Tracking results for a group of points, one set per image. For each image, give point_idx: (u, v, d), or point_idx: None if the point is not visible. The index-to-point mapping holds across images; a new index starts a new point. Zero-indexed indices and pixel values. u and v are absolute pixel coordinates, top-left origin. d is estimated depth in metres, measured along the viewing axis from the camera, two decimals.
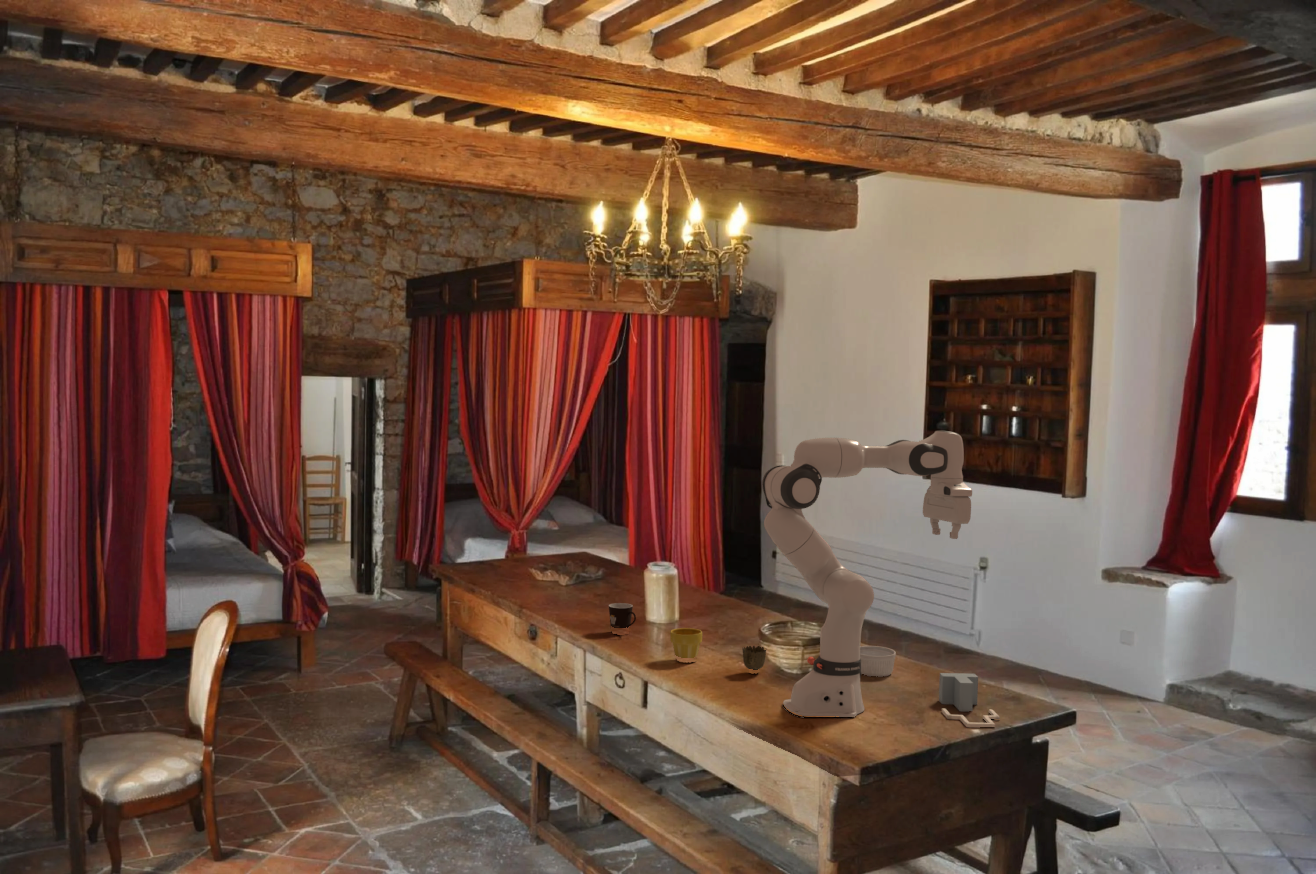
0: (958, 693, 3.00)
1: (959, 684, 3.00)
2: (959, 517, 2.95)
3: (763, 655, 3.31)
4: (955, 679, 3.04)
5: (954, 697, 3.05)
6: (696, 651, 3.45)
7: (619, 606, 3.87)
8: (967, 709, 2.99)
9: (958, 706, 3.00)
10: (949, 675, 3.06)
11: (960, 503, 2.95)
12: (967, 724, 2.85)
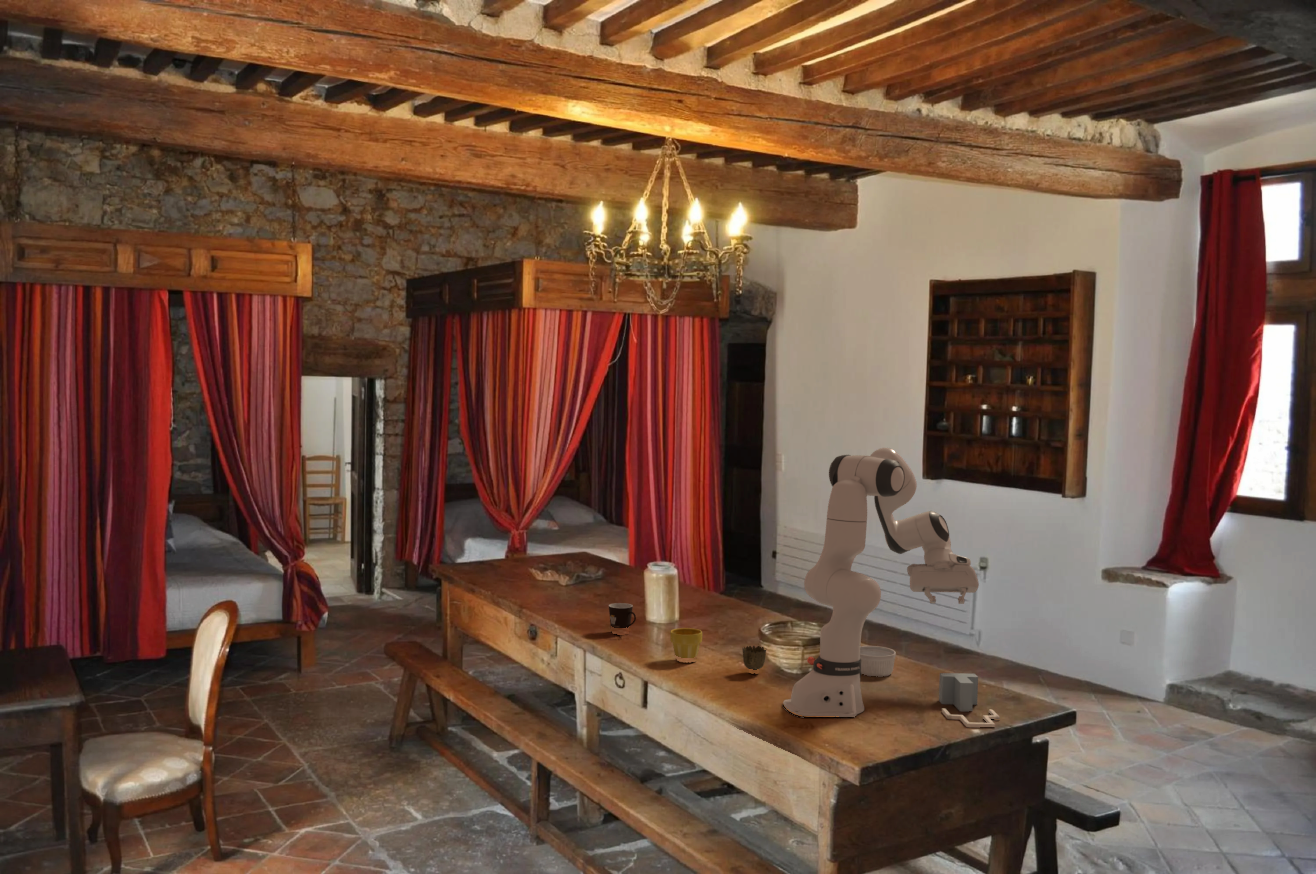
0: (958, 693, 3.00)
1: (959, 684, 3.00)
2: None
3: (763, 655, 3.31)
4: (955, 679, 3.04)
5: (954, 697, 3.05)
6: (696, 651, 3.45)
7: (619, 606, 3.87)
8: (967, 709, 2.99)
9: (958, 706, 3.00)
10: (949, 675, 3.06)
11: None
12: (967, 724, 2.85)
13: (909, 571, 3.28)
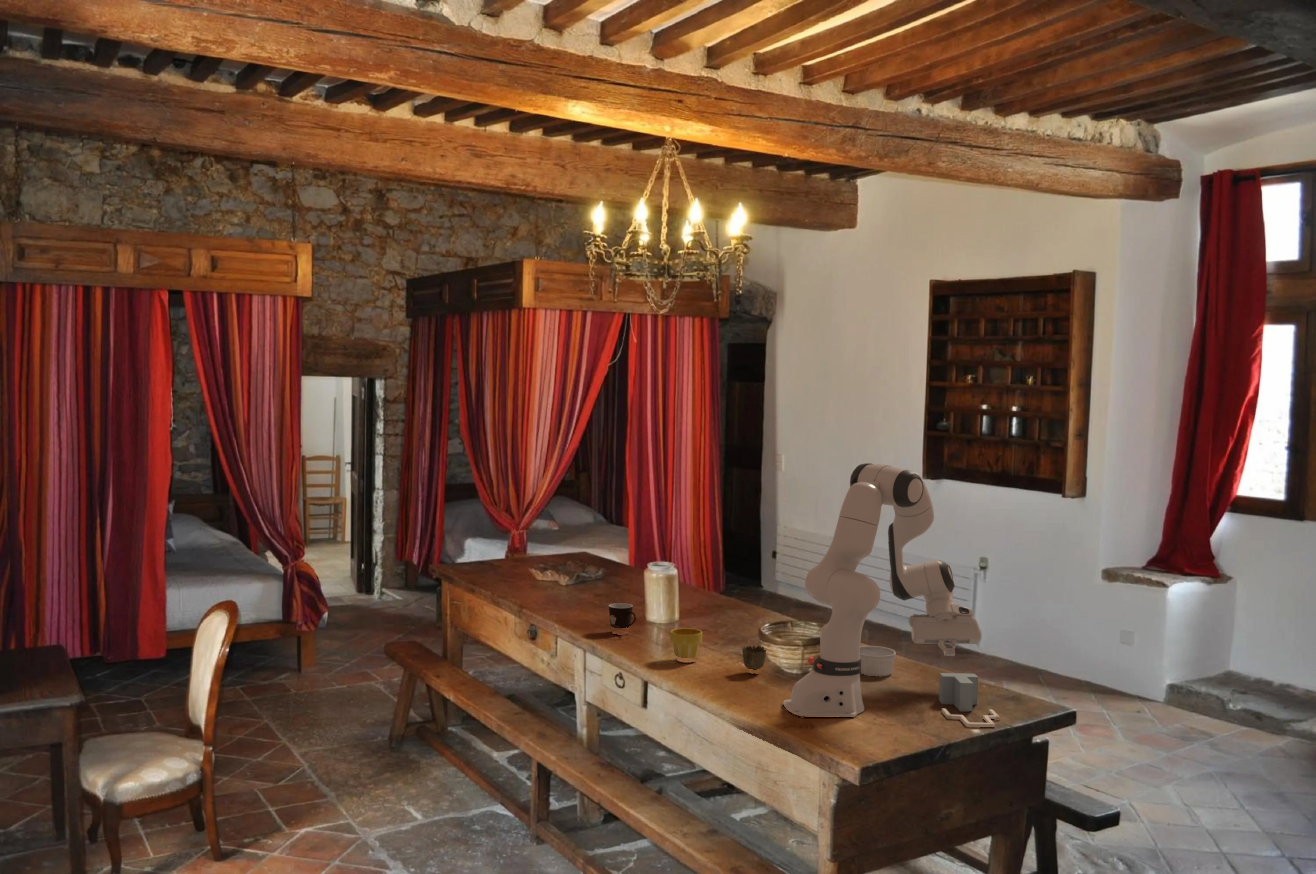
0: (958, 693, 3.00)
1: (959, 684, 3.00)
2: (980, 633, 3.20)
3: (763, 655, 3.31)
4: (955, 679, 3.04)
5: (954, 697, 3.05)
6: (696, 651, 3.45)
7: (619, 606, 3.87)
8: (967, 709, 2.99)
9: (958, 706, 3.00)
10: (949, 675, 3.06)
11: None
12: (967, 724, 2.85)
13: (911, 622, 3.24)
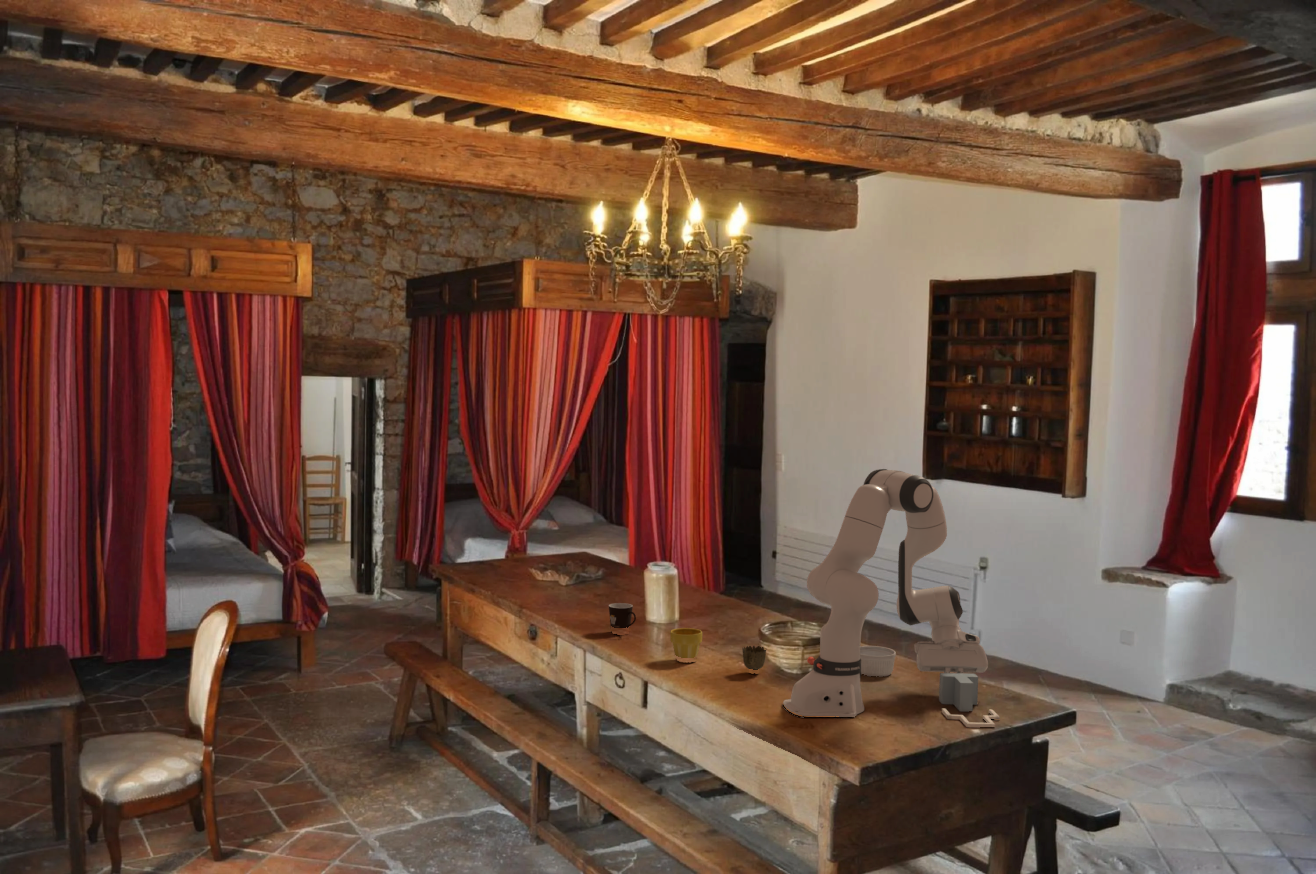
0: (958, 693, 3.00)
1: (959, 684, 3.00)
2: (987, 661, 3.12)
3: (763, 655, 3.31)
4: (955, 679, 3.04)
5: (954, 697, 3.04)
6: (696, 651, 3.45)
7: (619, 606, 3.87)
8: (967, 709, 2.99)
9: (958, 706, 3.00)
10: (949, 675, 3.06)
11: None
12: (967, 724, 2.85)
13: (916, 649, 3.16)
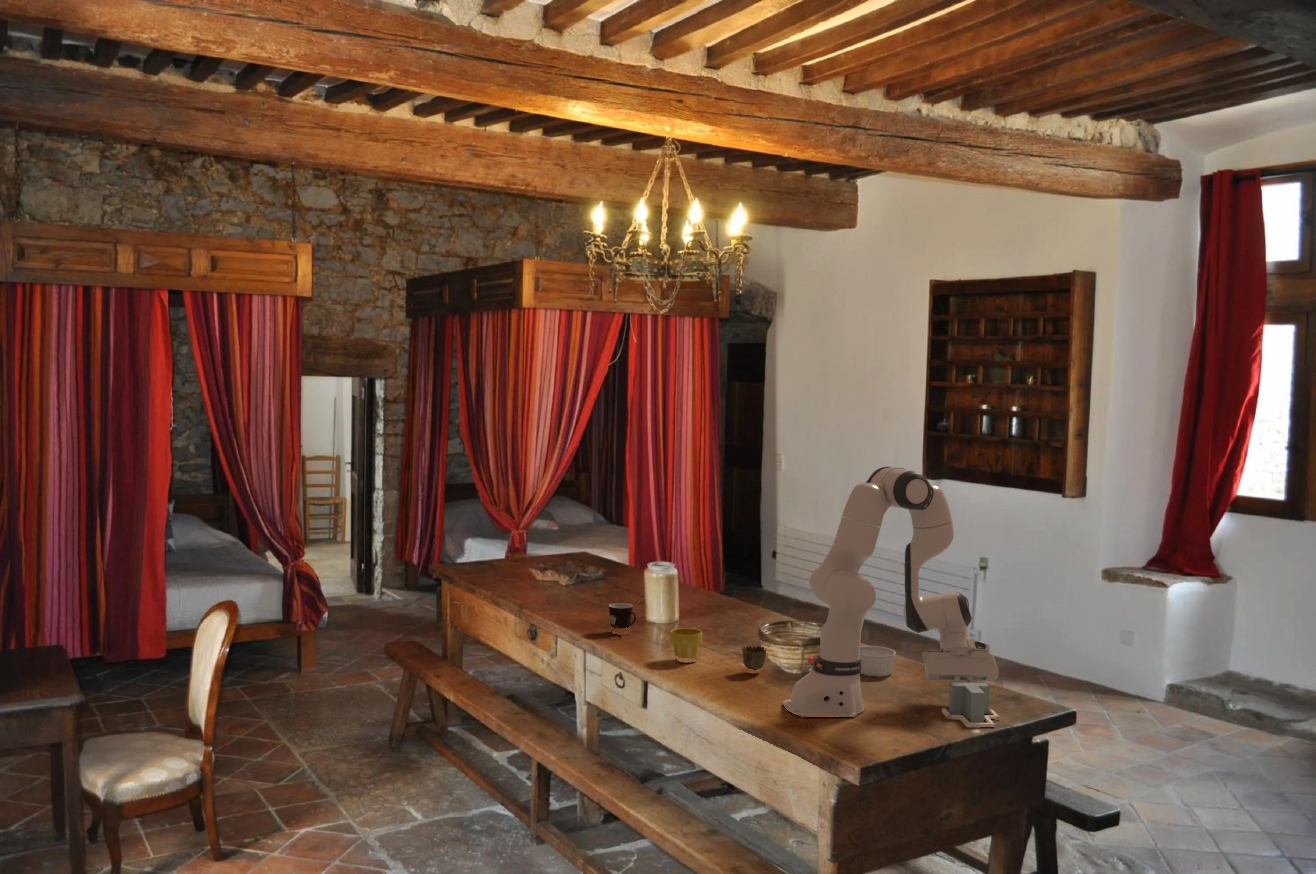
0: (969, 703, 2.91)
1: (970, 694, 2.90)
2: None
3: (763, 655, 3.31)
4: (966, 689, 2.94)
5: (965, 707, 2.95)
6: (696, 651, 3.45)
7: (619, 606, 3.87)
8: (978, 720, 2.90)
9: (969, 717, 2.91)
10: (959, 684, 2.97)
11: None
12: (967, 724, 2.85)
13: (924, 657, 3.07)
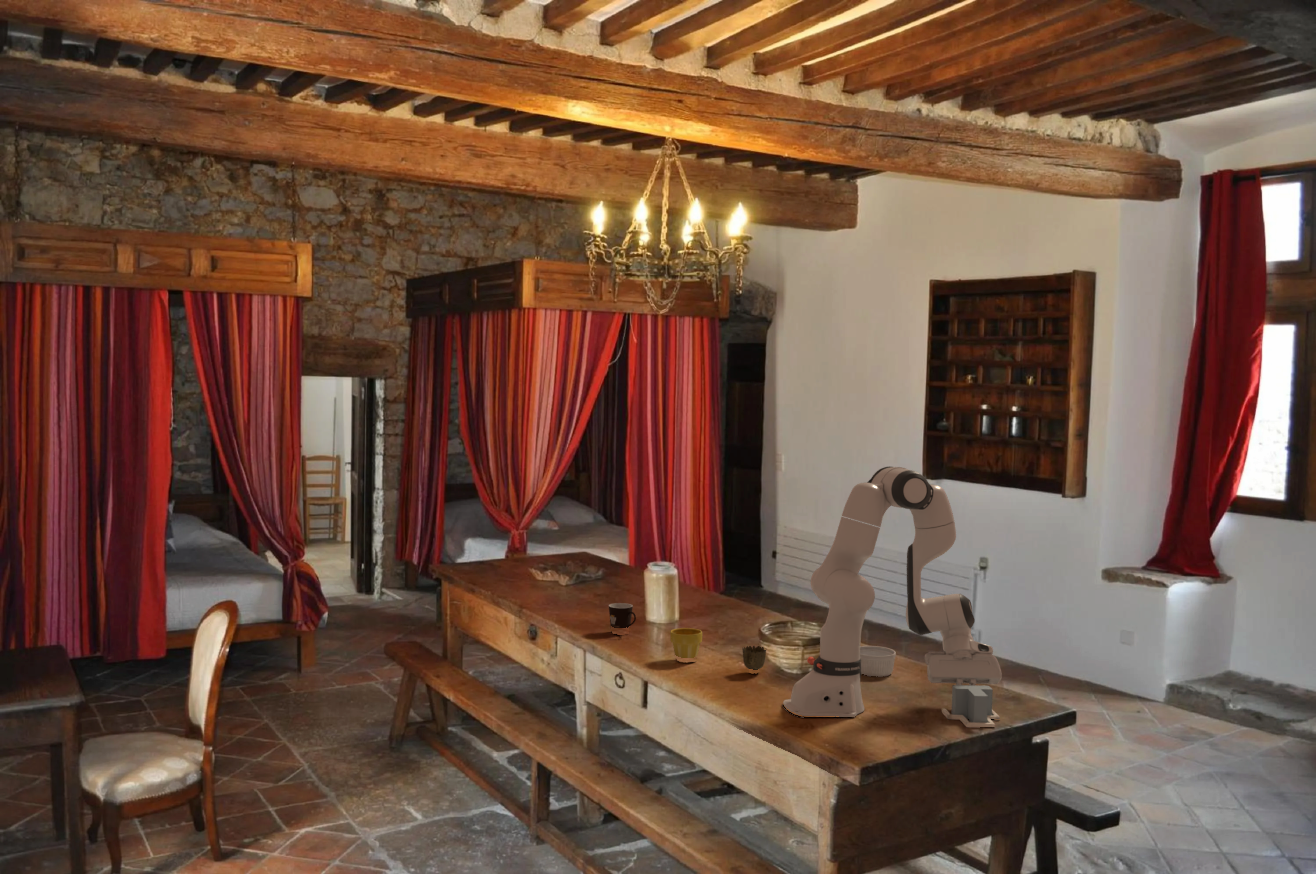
0: (972, 706, 2.88)
1: (973, 697, 2.87)
2: (1001, 672, 3.00)
3: (763, 655, 3.31)
4: (969, 692, 2.92)
5: (968, 710, 2.92)
6: (696, 651, 3.45)
7: (619, 606, 3.87)
8: None
9: (972, 720, 2.88)
10: (962, 687, 2.94)
11: None
12: (967, 724, 2.85)
13: (927, 660, 3.04)
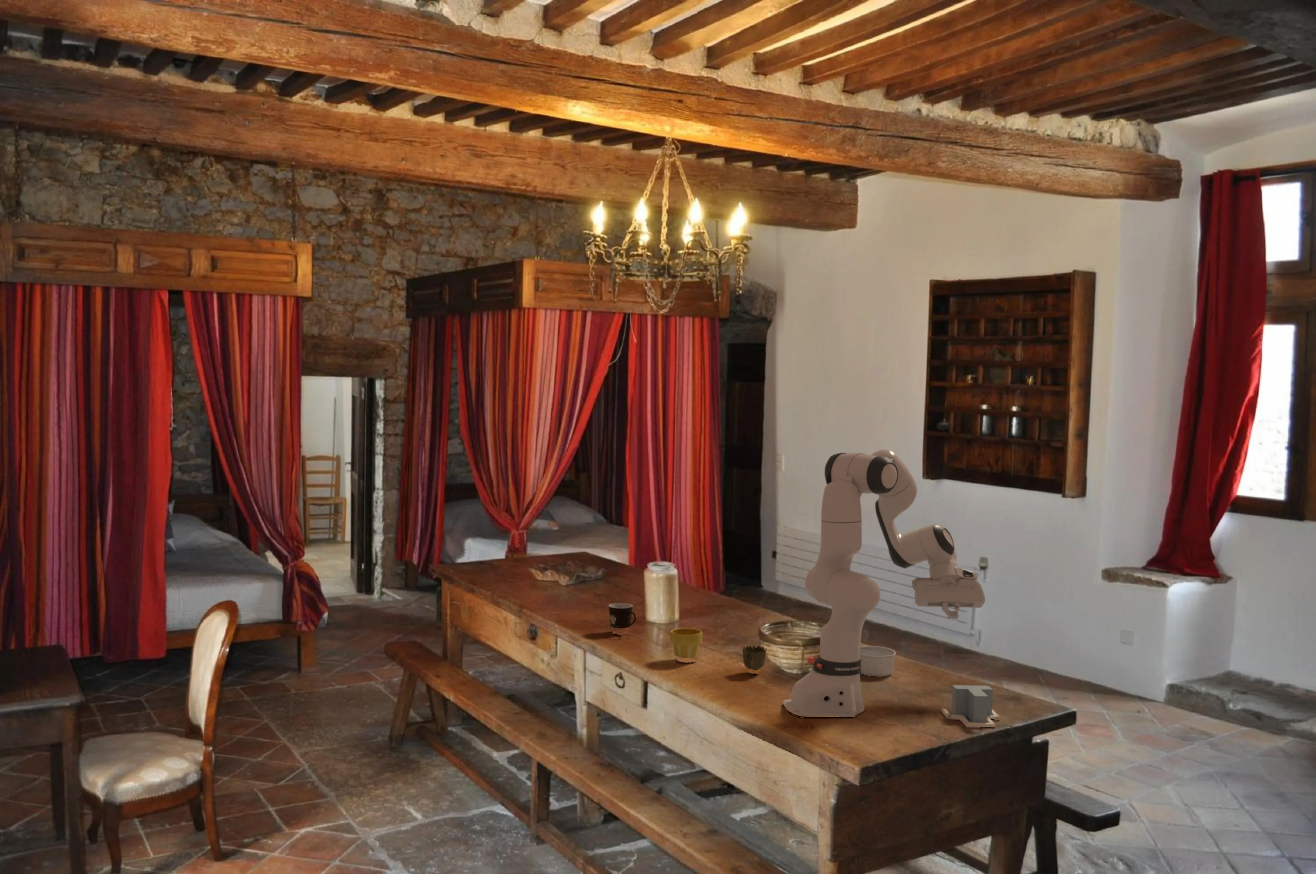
0: (972, 706, 2.88)
1: (973, 697, 2.87)
2: (984, 596, 3.16)
3: (763, 655, 3.31)
4: (969, 692, 2.92)
5: (968, 710, 2.92)
6: (696, 651, 3.45)
7: (619, 606, 3.87)
8: None
9: (972, 720, 2.88)
10: (962, 687, 2.94)
11: None
12: (967, 724, 2.85)
13: (914, 585, 3.20)
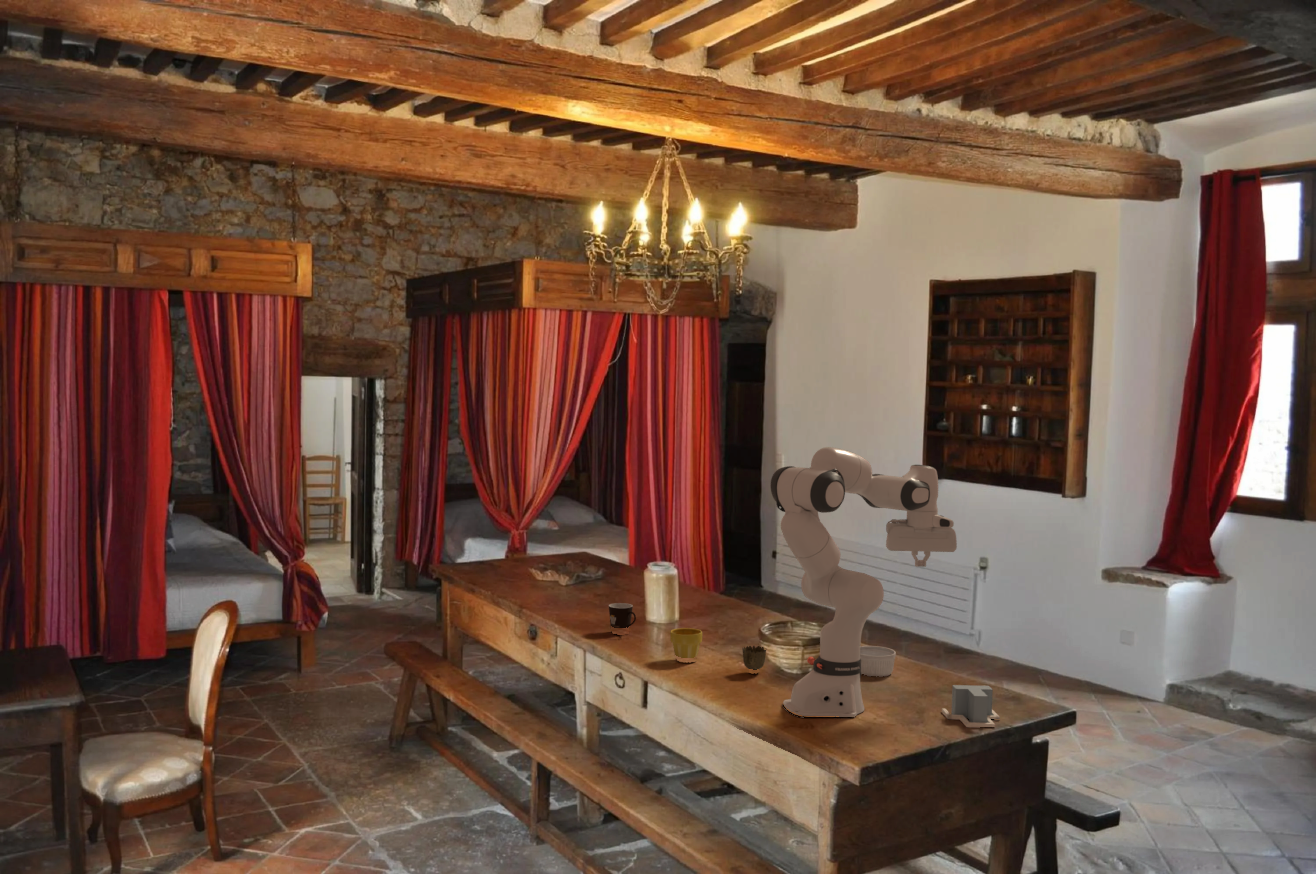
0: (972, 706, 2.88)
1: (973, 697, 2.87)
2: (956, 546, 3.15)
3: (763, 655, 3.31)
4: (969, 692, 2.92)
5: (968, 710, 2.92)
6: (696, 651, 3.45)
7: (619, 606, 3.87)
8: None
9: (972, 720, 2.88)
10: (962, 687, 2.94)
11: None
12: (967, 724, 2.85)
13: (888, 529, 3.16)
